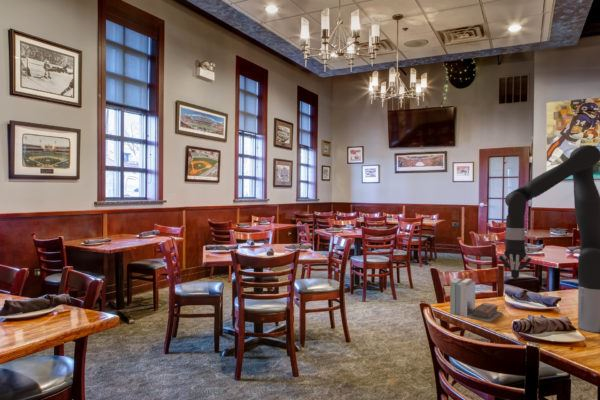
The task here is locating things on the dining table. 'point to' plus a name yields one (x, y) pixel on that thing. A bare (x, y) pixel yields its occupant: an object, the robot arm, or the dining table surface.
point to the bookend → (469, 299)
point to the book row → (458, 296)
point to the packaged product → (485, 312)
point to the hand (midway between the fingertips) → (515, 278)
